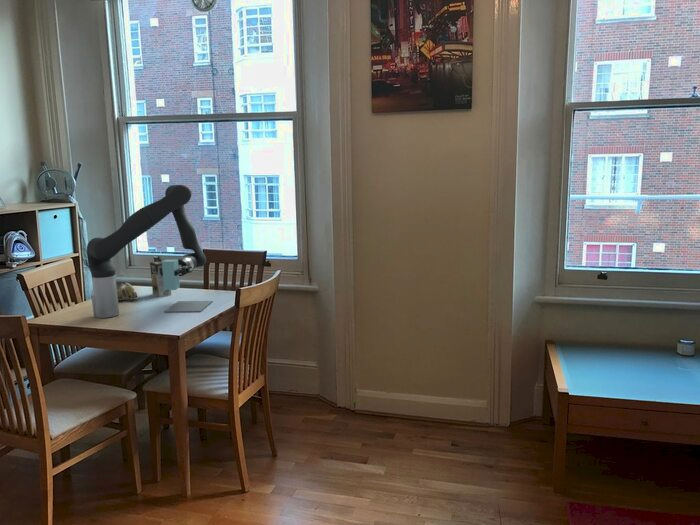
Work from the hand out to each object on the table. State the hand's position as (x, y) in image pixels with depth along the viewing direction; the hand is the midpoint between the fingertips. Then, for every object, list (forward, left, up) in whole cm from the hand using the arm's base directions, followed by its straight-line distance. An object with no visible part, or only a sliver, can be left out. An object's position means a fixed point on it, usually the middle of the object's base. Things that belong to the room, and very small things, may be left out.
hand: (168, 273), depth 228 cm
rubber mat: (+2, +16, -18) cm, 24 cm away
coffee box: (-20, +41, -19) cm, 49 cm away
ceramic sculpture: (-34, +32, -19) cm, 50 cm away
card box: (0, +3, -7) cm, 7 cm away
